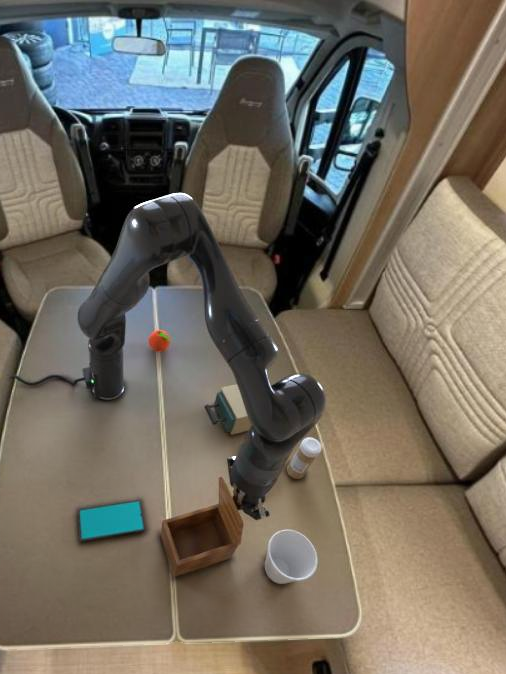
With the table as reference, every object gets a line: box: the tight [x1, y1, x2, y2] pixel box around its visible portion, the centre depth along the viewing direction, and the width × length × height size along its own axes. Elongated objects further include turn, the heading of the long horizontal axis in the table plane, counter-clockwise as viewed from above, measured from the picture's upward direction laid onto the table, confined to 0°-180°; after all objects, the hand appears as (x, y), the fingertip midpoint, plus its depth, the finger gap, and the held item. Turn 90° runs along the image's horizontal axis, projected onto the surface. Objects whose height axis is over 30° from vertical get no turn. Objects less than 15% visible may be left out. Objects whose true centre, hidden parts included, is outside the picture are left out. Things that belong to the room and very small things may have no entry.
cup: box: [264, 529, 319, 585], centre depth 88 cm, size 10×10×11 cm
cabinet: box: [219, 383, 252, 436], centre depth 116 cm, size 13×11×8 cm
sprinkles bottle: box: [286, 437, 323, 480], centre depth 102 cm, size 5×5×14 cm
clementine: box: [148, 329, 172, 353], centre depth 132 cm, size 8×7×7 cm
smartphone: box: [77, 499, 146, 543], centre depth 97 cm, size 7×1×15 cm
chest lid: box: [218, 475, 245, 546], centre depth 83 cm, size 14×10×1 cm
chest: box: [159, 503, 239, 578], centre depth 91 cm, size 14×10×9 cm
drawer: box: [203, 391, 235, 433], centre depth 115 cm, size 16×9×6 cm, turn 107°
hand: (237, 505), depth 82 cm, fingers closed
